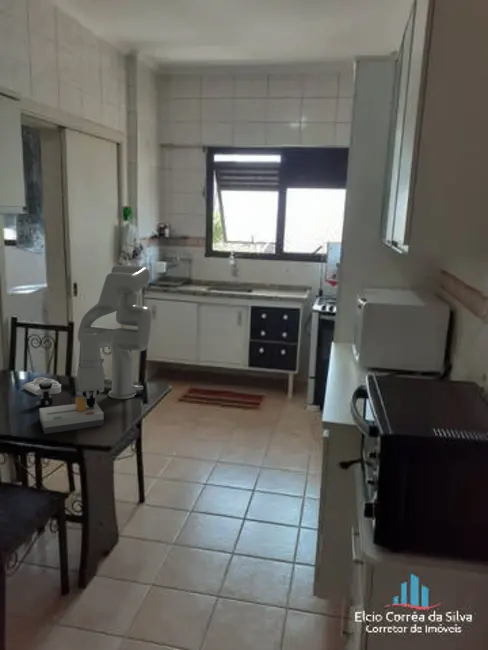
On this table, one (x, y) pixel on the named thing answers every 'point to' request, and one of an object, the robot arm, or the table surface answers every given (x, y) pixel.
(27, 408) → the table surface
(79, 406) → the lever
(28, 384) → the knuckle duster
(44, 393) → the push button
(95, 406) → the switch panel
